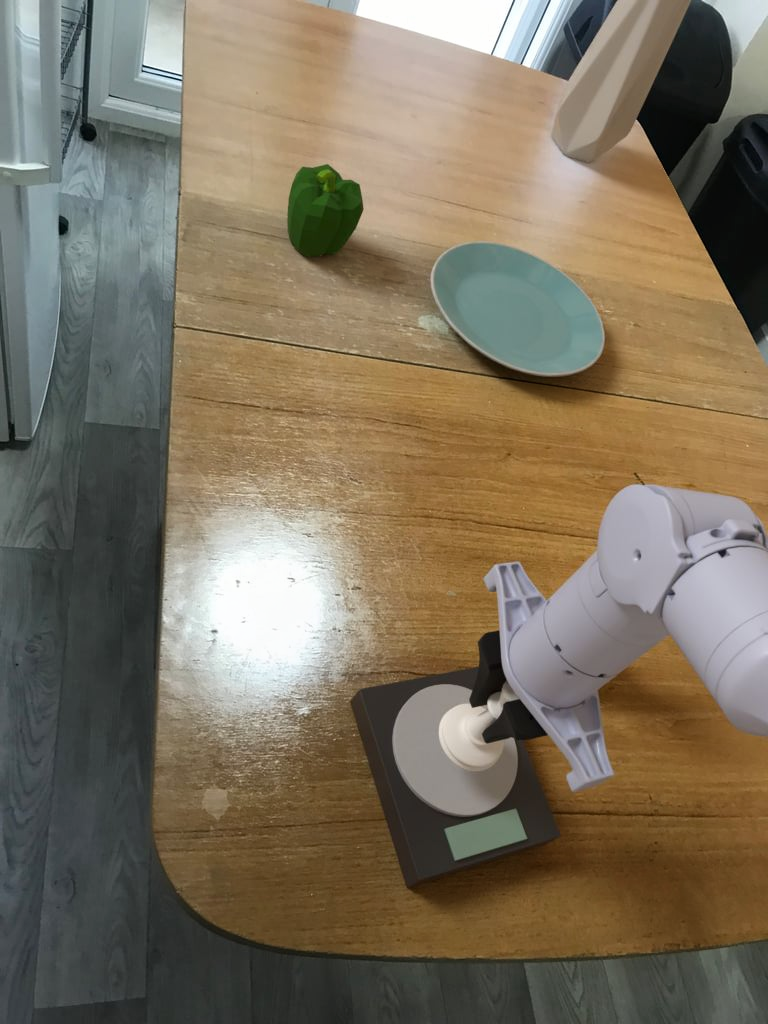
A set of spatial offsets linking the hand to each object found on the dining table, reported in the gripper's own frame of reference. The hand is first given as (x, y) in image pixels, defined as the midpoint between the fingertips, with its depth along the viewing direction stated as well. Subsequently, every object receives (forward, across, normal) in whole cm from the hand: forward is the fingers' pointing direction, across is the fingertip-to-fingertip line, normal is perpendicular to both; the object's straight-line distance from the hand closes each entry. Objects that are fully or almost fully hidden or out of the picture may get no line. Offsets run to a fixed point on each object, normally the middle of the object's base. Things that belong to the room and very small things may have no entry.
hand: (489, 718), depth 58 cm
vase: (+9, +87, -57) cm, 104 cm away
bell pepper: (+9, +60, -6) cm, 61 cm away
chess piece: (+3, 0, 0) cm, 4 cm away
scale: (+9, -1, 0) cm, 9 cm away
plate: (+9, +48, -28) cm, 56 cm away
